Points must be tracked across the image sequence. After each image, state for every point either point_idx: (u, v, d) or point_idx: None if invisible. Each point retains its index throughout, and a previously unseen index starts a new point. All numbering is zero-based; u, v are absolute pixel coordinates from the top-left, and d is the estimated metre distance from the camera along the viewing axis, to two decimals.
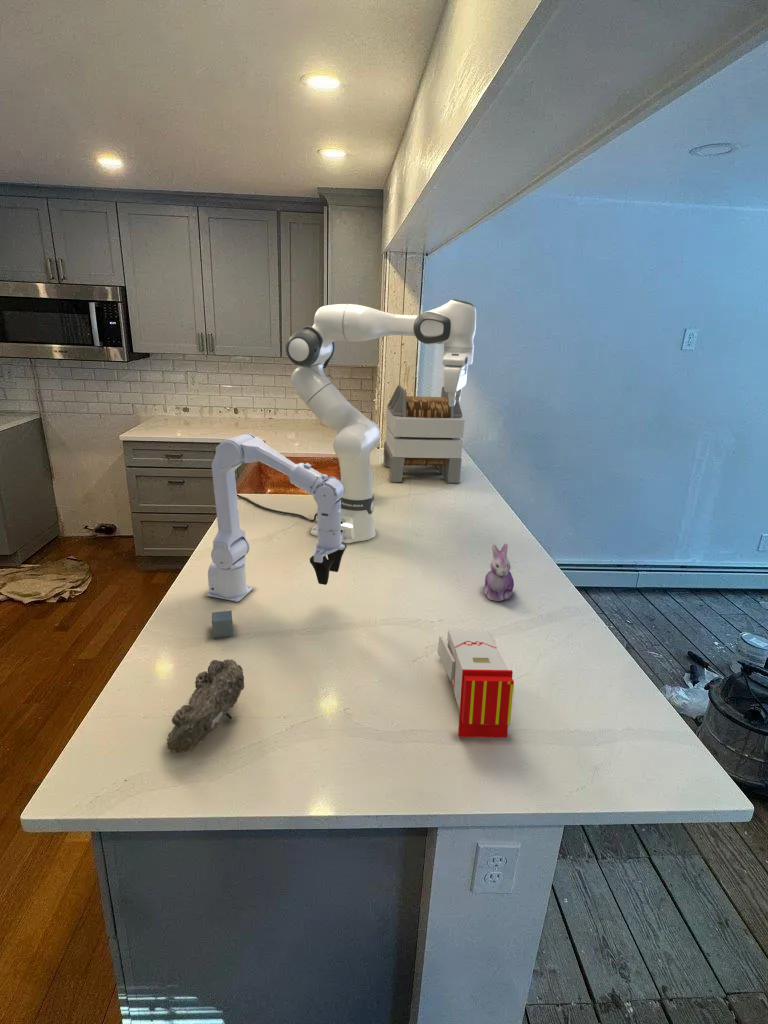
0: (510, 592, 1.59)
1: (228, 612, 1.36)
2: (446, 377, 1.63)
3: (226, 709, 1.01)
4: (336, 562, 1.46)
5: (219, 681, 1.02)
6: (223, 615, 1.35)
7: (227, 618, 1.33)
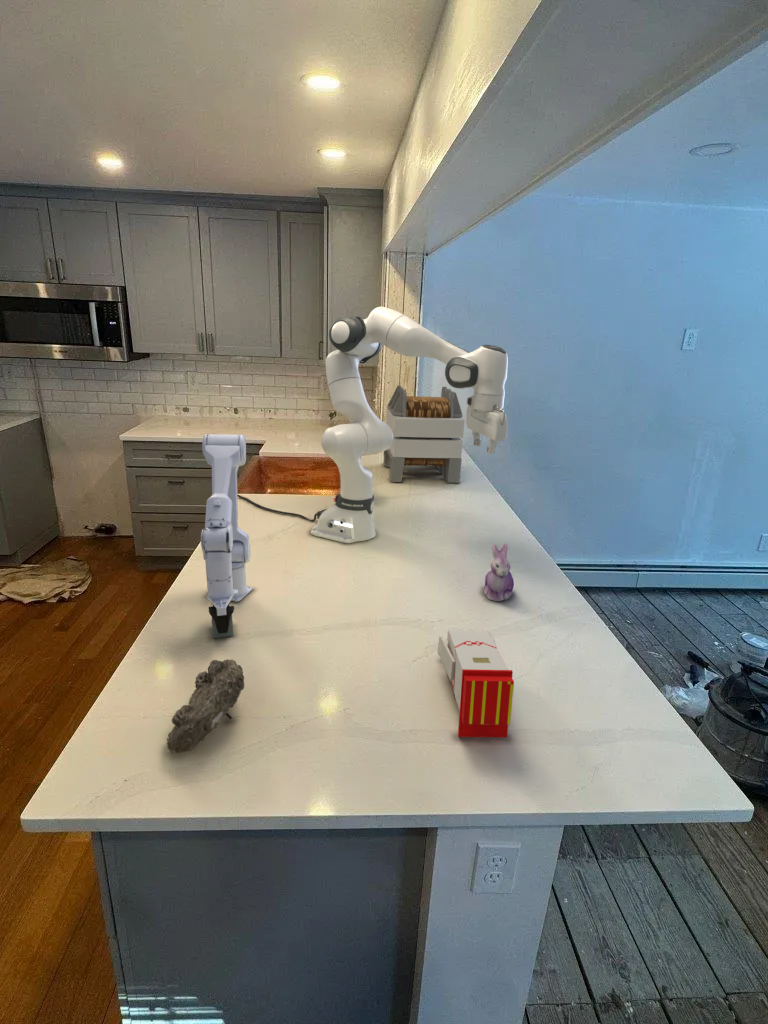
0: (510, 592, 1.59)
1: None
2: None
3: (226, 709, 1.01)
4: None
5: (219, 681, 1.02)
6: None
7: None
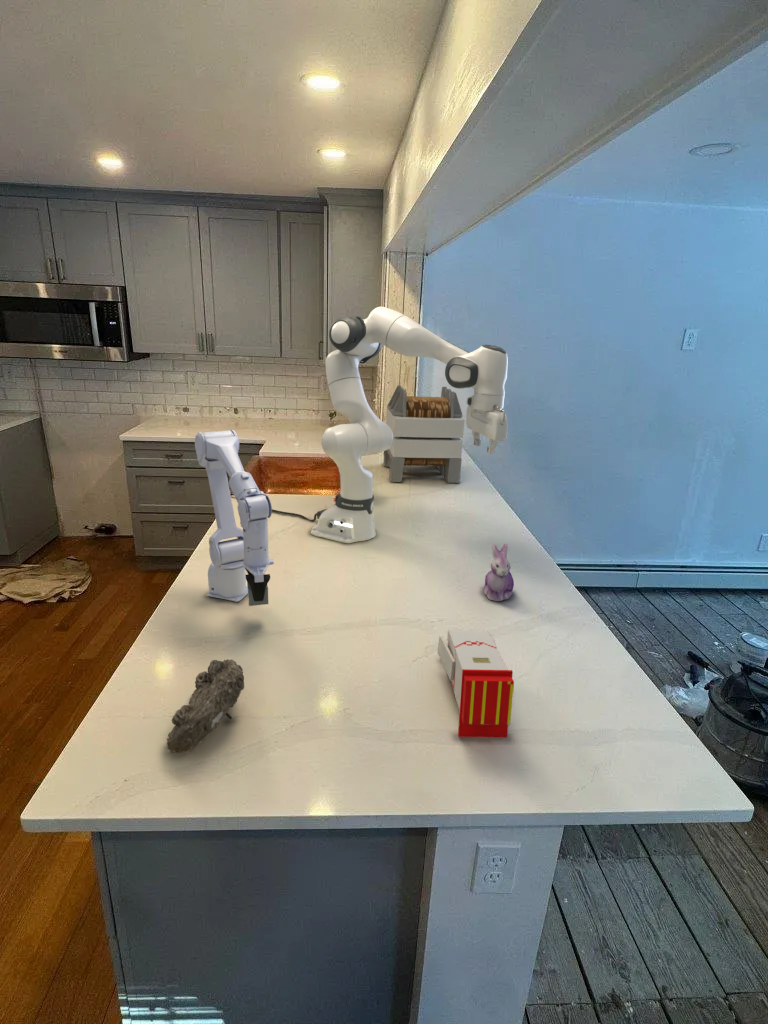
0: (510, 592, 1.59)
1: None
2: None
3: (226, 709, 1.01)
4: None
5: (219, 681, 1.02)
6: None
7: None
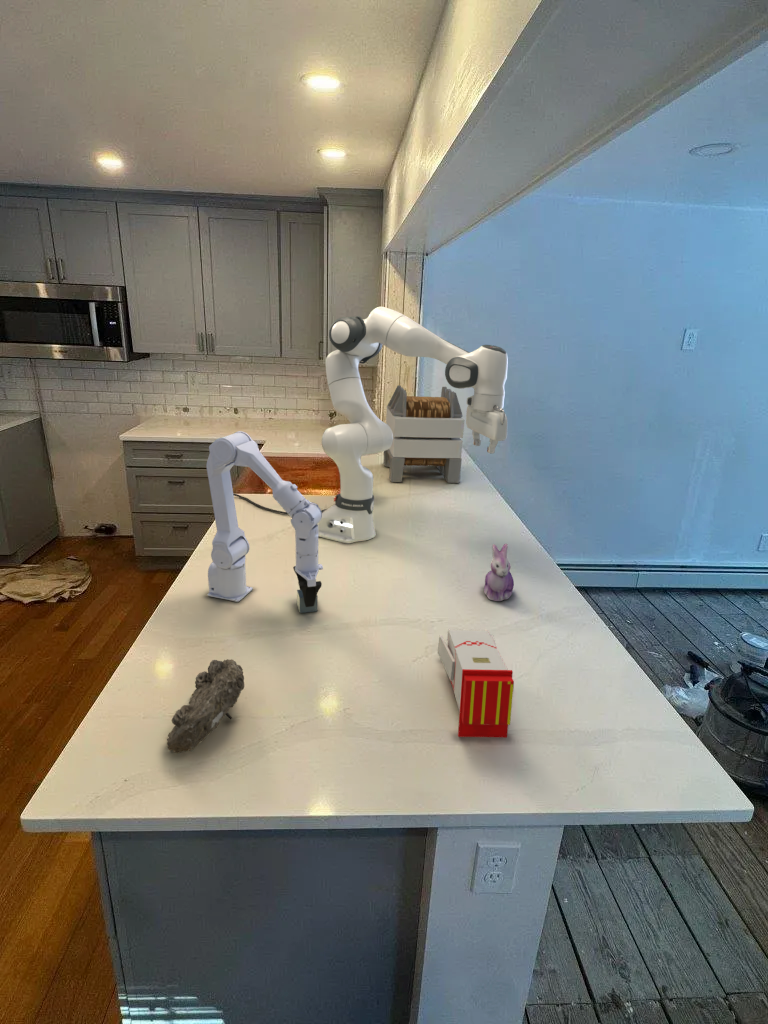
0: (510, 592, 1.59)
1: None
2: None
3: (226, 709, 1.01)
4: None
5: (219, 681, 1.02)
6: None
7: None
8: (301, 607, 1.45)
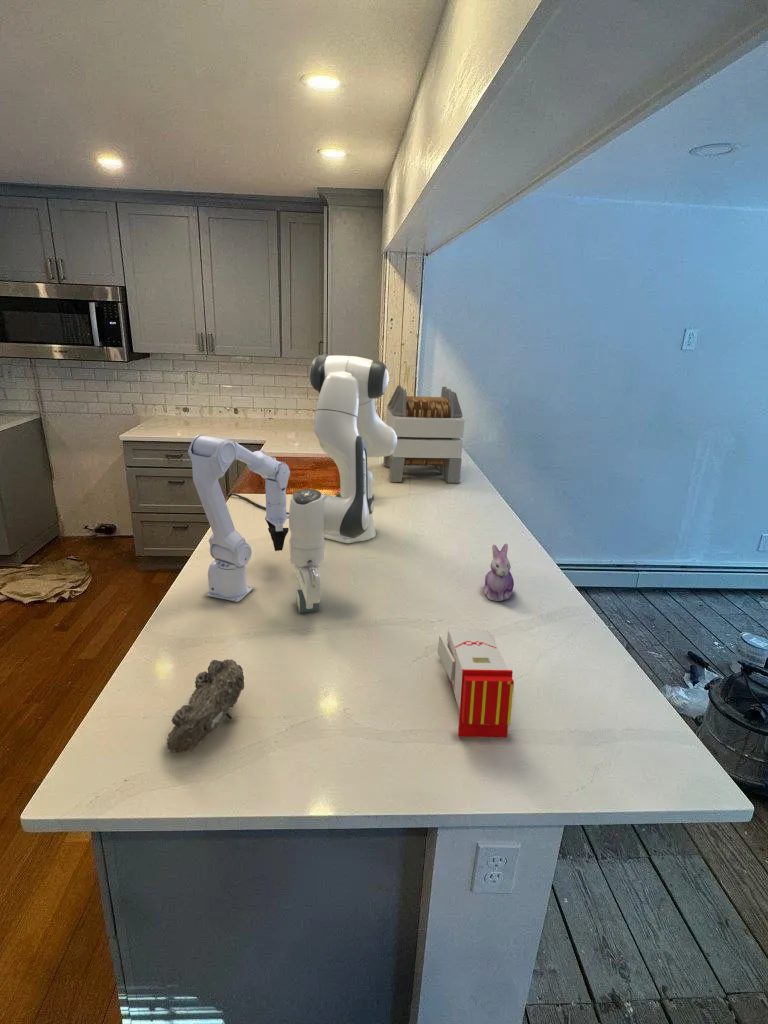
0: (510, 592, 1.59)
1: None
2: None
3: (226, 709, 1.01)
4: None
5: (219, 681, 1.02)
6: None
7: None
8: (301, 607, 1.45)
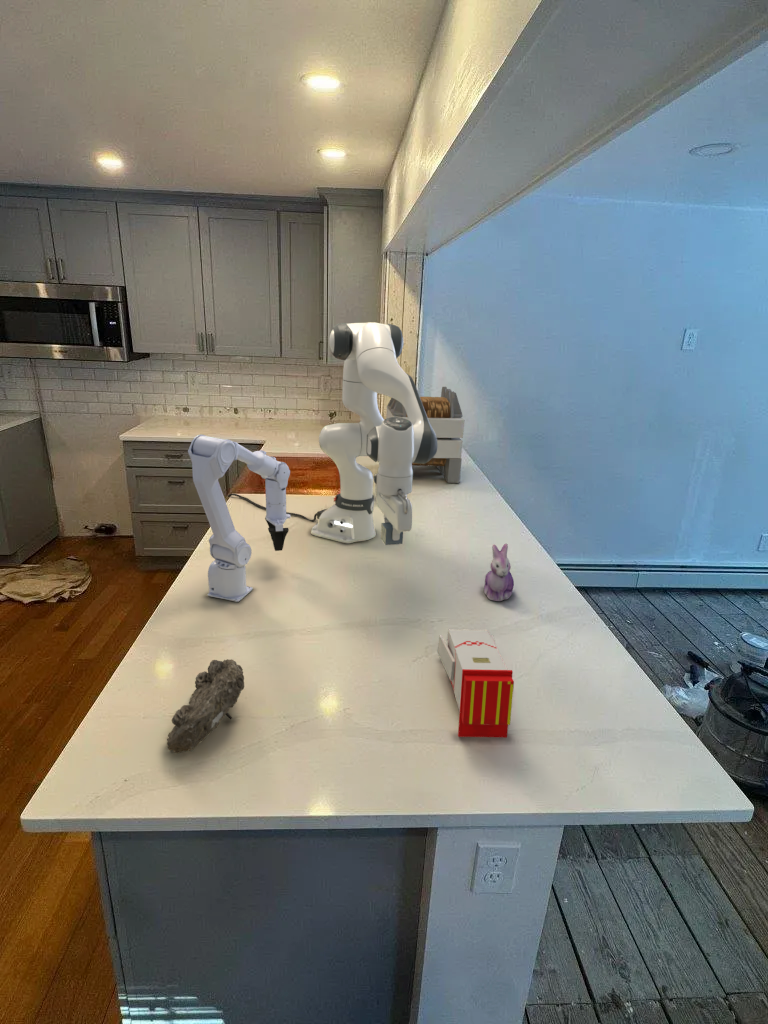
0: (510, 592, 1.59)
1: None
2: None
3: (226, 709, 1.01)
4: None
5: (219, 681, 1.02)
6: None
7: None
8: (387, 539, 1.44)
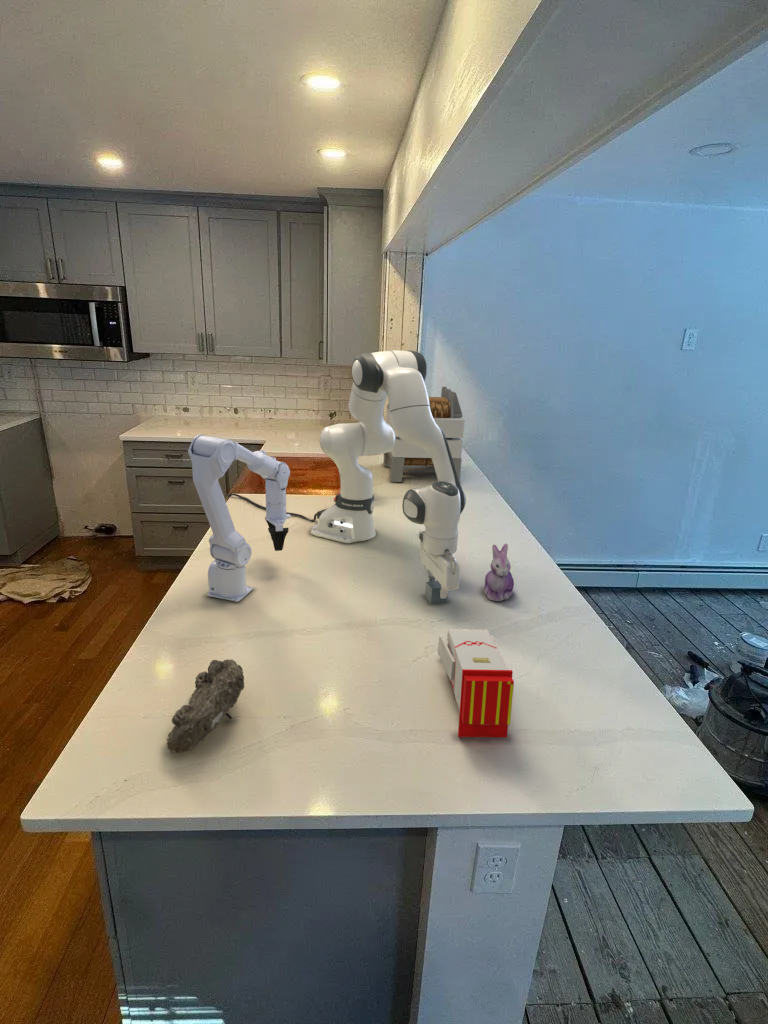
0: (510, 592, 1.59)
1: None
2: None
3: (226, 709, 1.01)
4: None
5: (219, 681, 1.02)
6: (438, 584, 1.55)
7: None
8: (432, 598, 1.53)
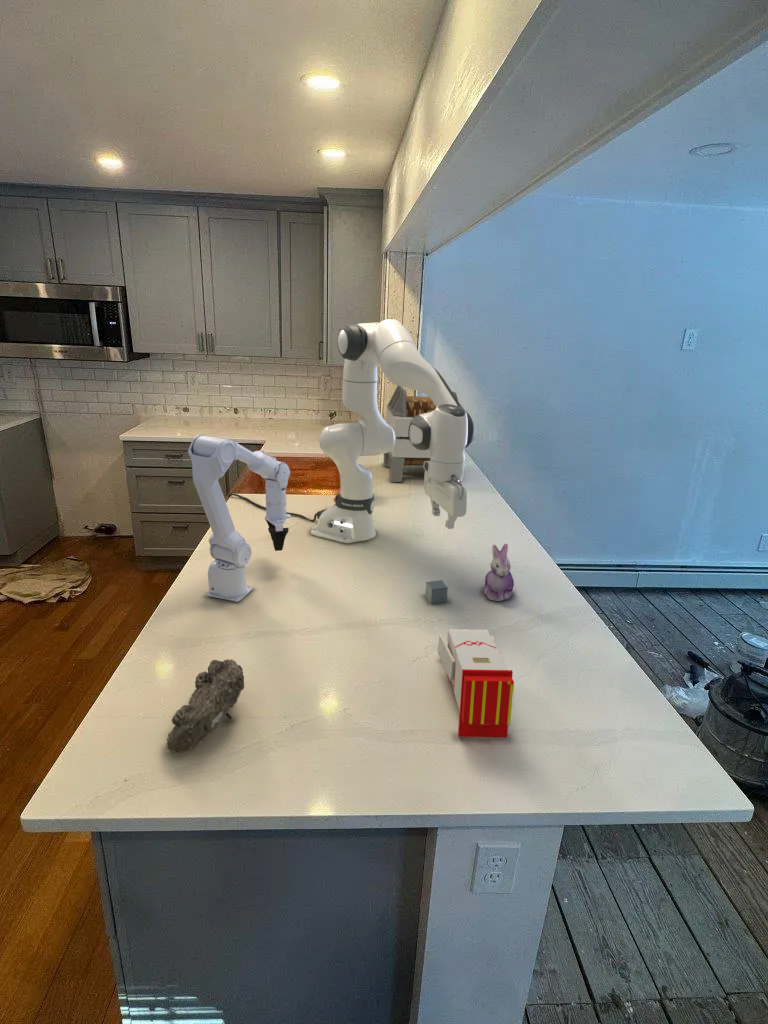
0: (510, 592, 1.59)
1: (440, 581, 1.56)
2: None
3: (226, 709, 1.01)
4: None
5: (219, 681, 1.02)
6: (438, 584, 1.55)
7: (443, 586, 1.54)
8: (432, 598, 1.53)
